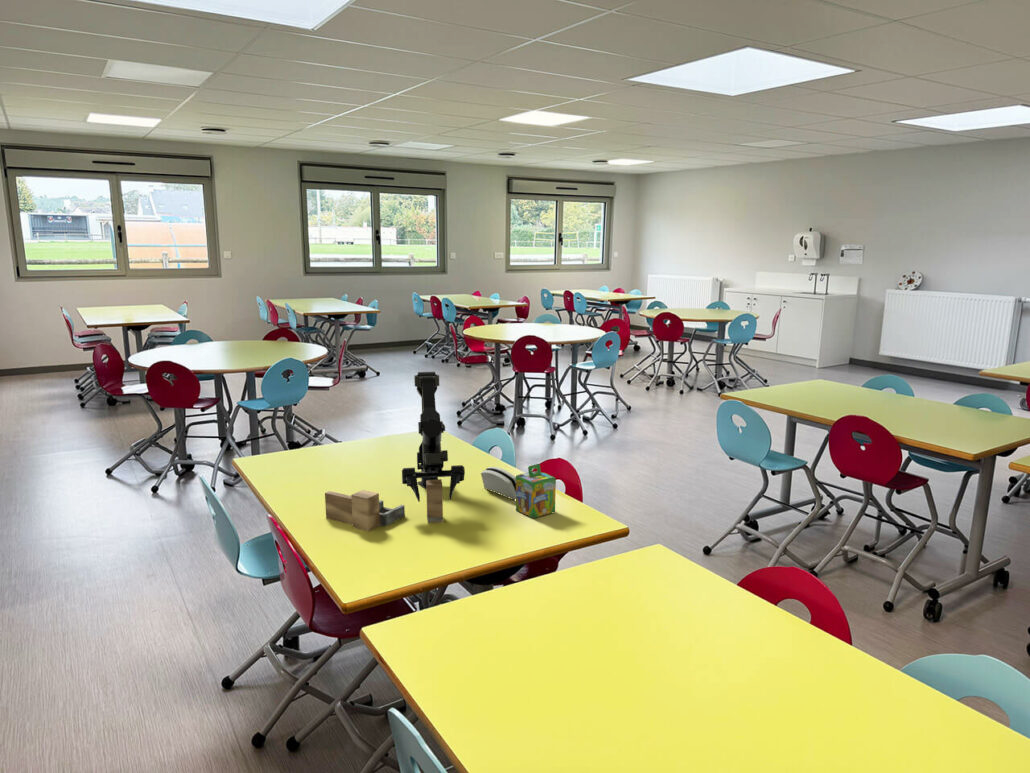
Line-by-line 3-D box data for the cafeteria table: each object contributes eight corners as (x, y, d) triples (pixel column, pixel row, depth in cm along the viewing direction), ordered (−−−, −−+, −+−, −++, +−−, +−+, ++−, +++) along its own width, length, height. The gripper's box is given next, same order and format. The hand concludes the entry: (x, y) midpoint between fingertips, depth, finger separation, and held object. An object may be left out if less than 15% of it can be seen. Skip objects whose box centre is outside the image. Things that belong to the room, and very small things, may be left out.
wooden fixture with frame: (355, 504, 222) (354, 474, 220) (404, 516, 212) (403, 484, 211) (322, 519, 210) (320, 488, 208) (373, 532, 200) (371, 499, 198)
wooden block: (426, 517, 211) (426, 479, 209) (442, 517, 212) (441, 479, 210) (427, 523, 207) (426, 484, 205) (443, 522, 208) (442, 484, 205)
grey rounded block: (527, 497, 229) (520, 472, 225) (517, 505, 226) (509, 479, 222) (495, 484, 241) (487, 460, 237) (485, 492, 239) (477, 467, 235)
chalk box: (533, 519, 210) (533, 472, 207) (514, 510, 217) (514, 465, 214) (556, 512, 216) (557, 466, 213) (537, 504, 223) (538, 459, 220)
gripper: (401, 442, 207) (402, 489, 199) (463, 439, 210) (467, 486, 202) (401, 460, 217) (403, 506, 208) (461, 457, 220) (465, 502, 211)
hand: (434, 500), depth 207 cm, fingers open, 9 cm apart
